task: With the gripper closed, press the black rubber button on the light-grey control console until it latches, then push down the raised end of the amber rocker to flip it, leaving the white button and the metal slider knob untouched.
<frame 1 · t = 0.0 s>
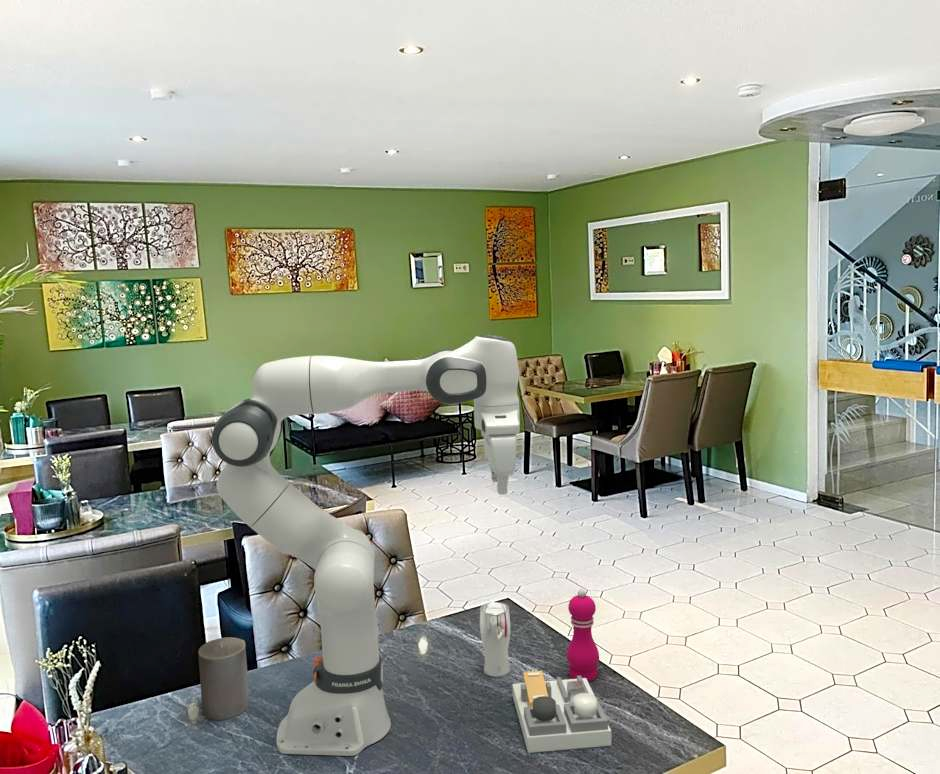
hand: (499, 487, 150), 48 cm above the table, fingers open, 8 cm apart
pillar candle: (226, 708, 163), on the table
amber rocker: (535, 687, 156), point 5 cm above the table, hinge at 18.0°
beer glass: (496, 671, 175), on the table
console: (559, 719, 154), on the table
metal slider knob: (576, 691, 155), point 5 cm above the table, slide at 0.0 cm
pepper mill: (583, 675, 171), on the table
white button: (585, 705, 147), point 6 cm above the table, slide at 0.0 cm
black button: (544, 708, 147), point 6 cm above the table, slide at 0.0 cm
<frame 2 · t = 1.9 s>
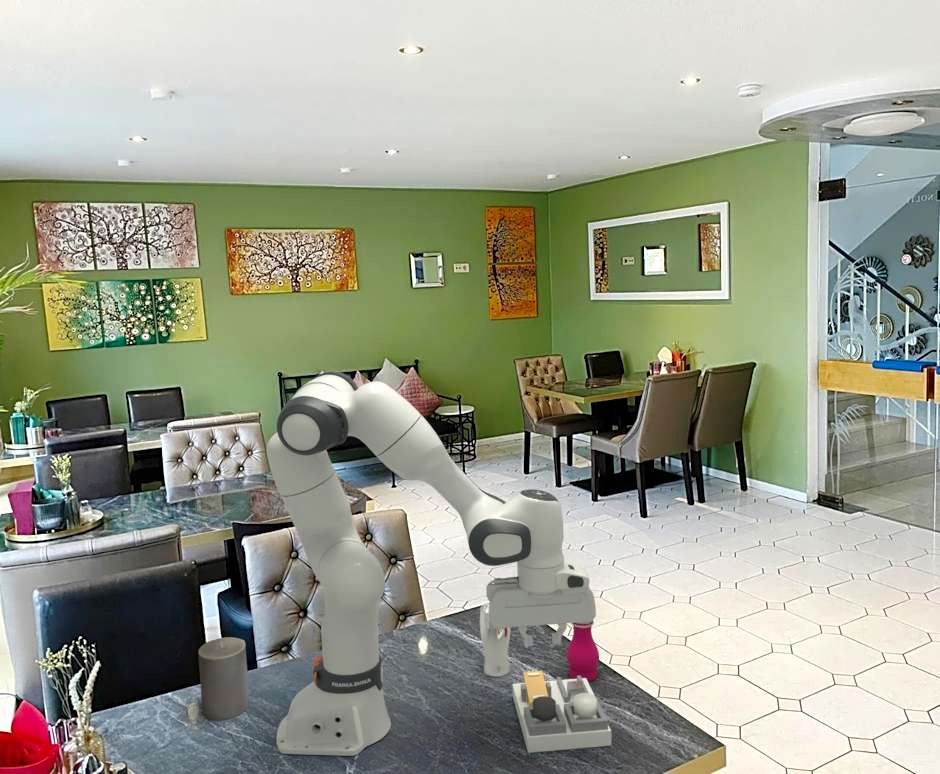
hand: (542, 645, 145), 19 cm above the table, fingers open, 4 cm apart
nothing on the table moved.
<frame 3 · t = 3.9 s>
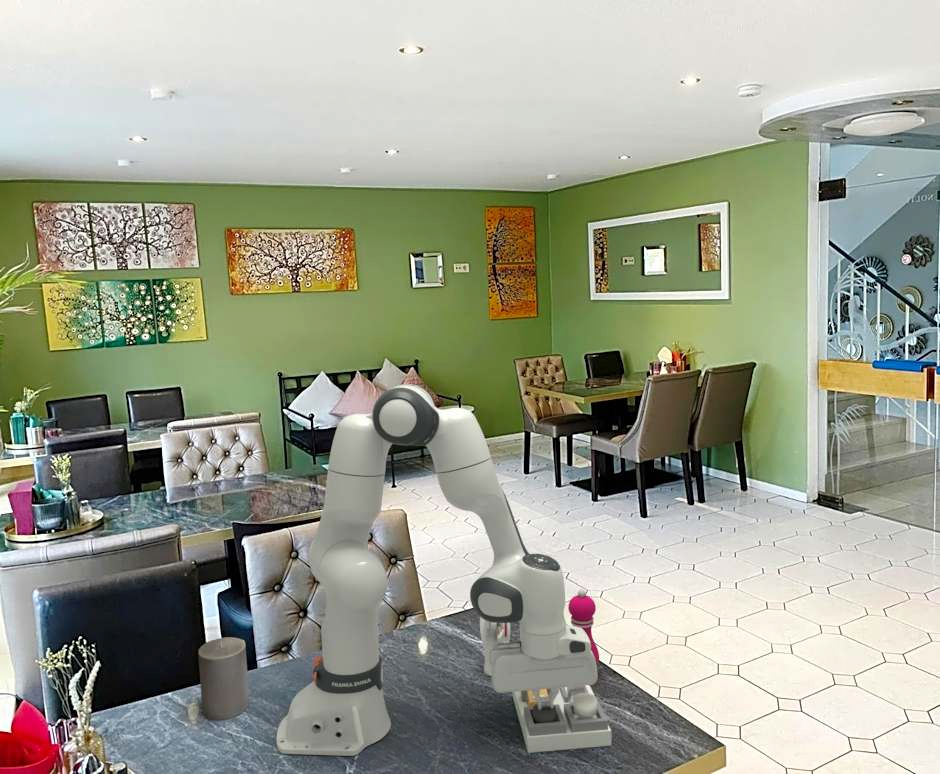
hand: (545, 707, 147), 6 cm above the table, fingers closed, pressing on black button
black button: (544, 714, 147), point 5 cm above the table, slide at 1.3 cm, touching gripper
everything else where it was.
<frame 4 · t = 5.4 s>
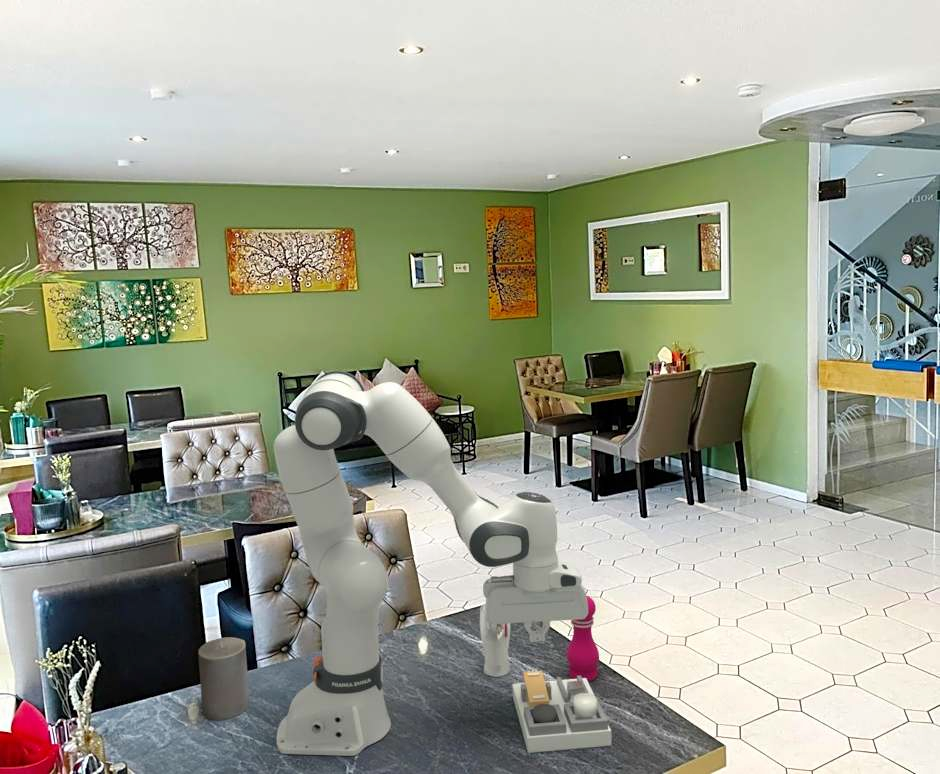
hand: (537, 641, 151), 17 cm above the table, fingers closed
black button: (544, 716, 147), point 5 cm above the table, slide at 1.6 cm
everything else where it was.
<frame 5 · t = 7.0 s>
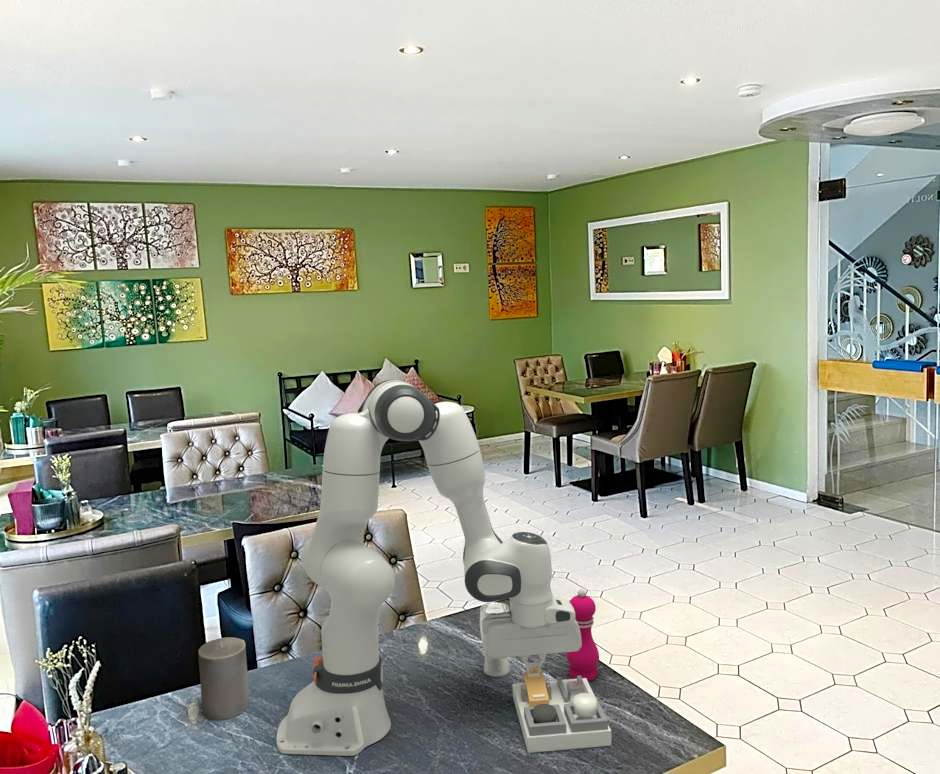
hand: (533, 672, 160), 7 cm above the table, fingers closed, pressing on amber rocker
amber rocker: (535, 687, 156), point 5 cm above the table, hinge at 14.4°, touching gripper
everything else where it was.
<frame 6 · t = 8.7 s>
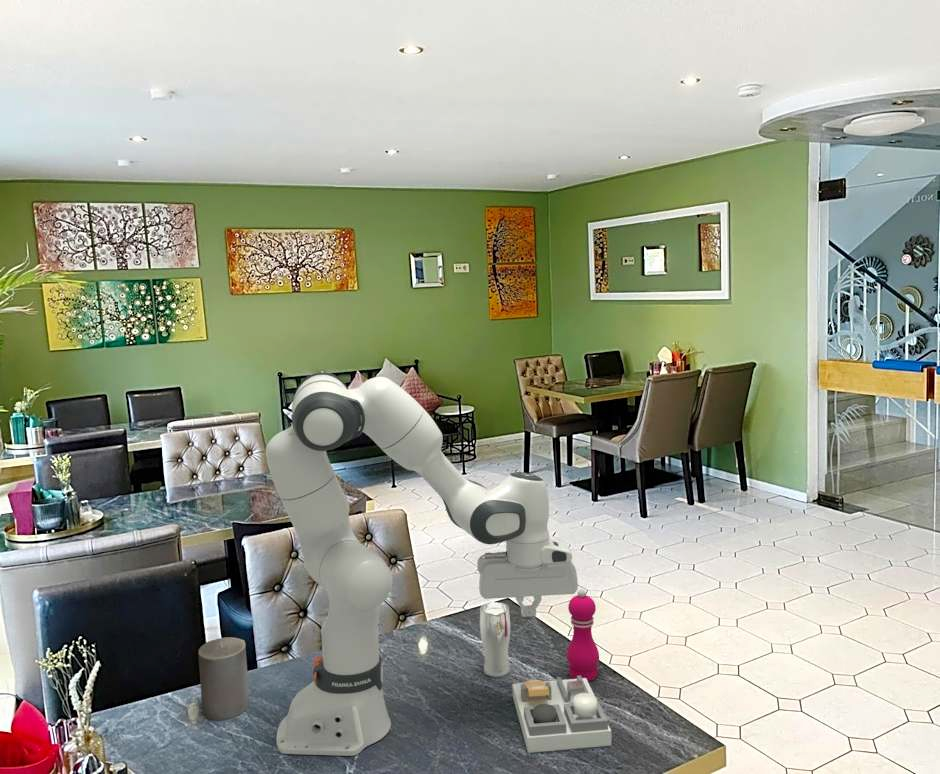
hand: (528, 615, 158), 19 cm above the table, fingers closed
amber rocker: (535, 687, 156), point 5 cm above the table, hinge at -16.4°
everything else where it was.
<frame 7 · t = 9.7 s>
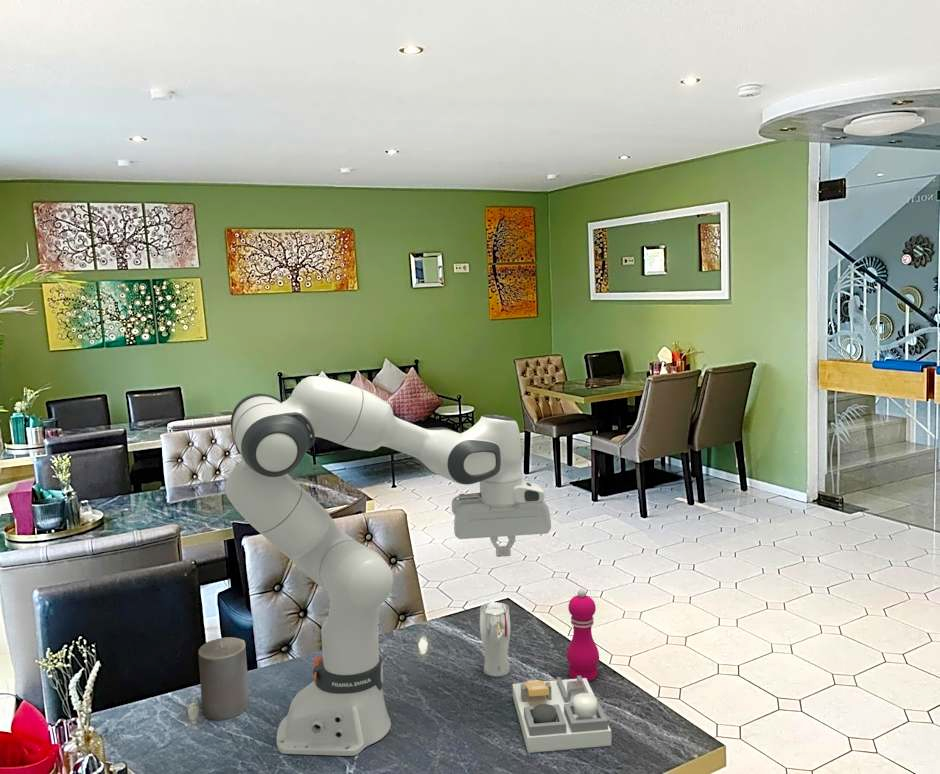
hand: (503, 555, 160), 31 cm above the table, fingers closed
amber rocker: (535, 687, 156), point 5 cm above the table, hinge at -16.9°
everything else where it was.
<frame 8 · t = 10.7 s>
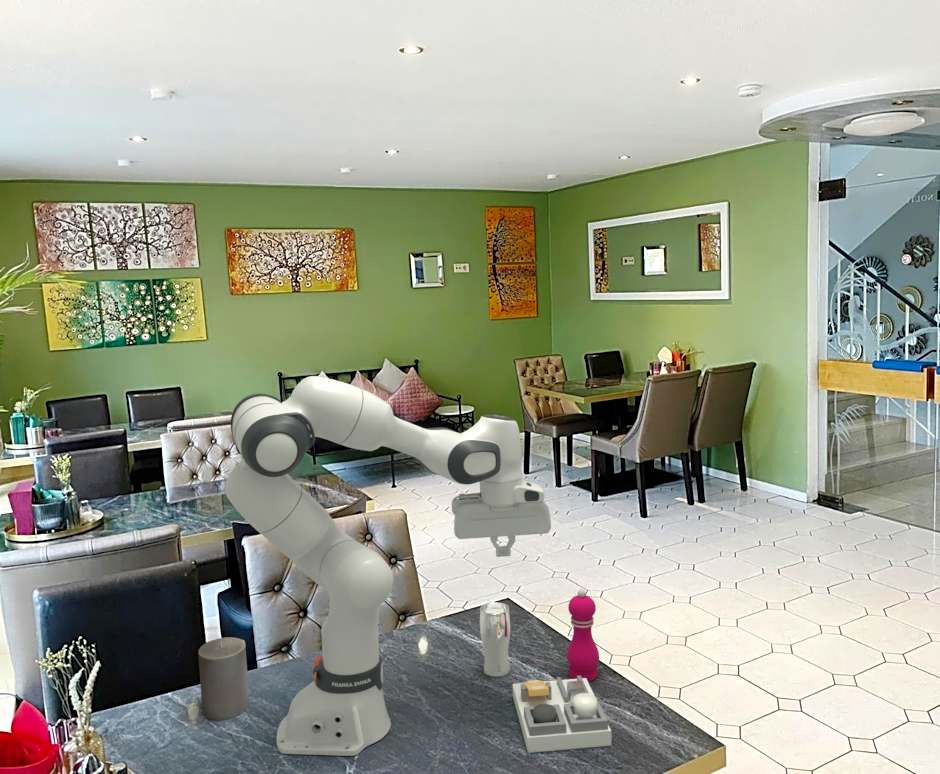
hand: (503, 555, 160), 31 cm above the table, fingers closed
nothing on the table moved.
at the end: black button slide at 1.6 cm; amber rocker at -17° (first picture: +18°); white button slide at 0.0 cm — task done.
